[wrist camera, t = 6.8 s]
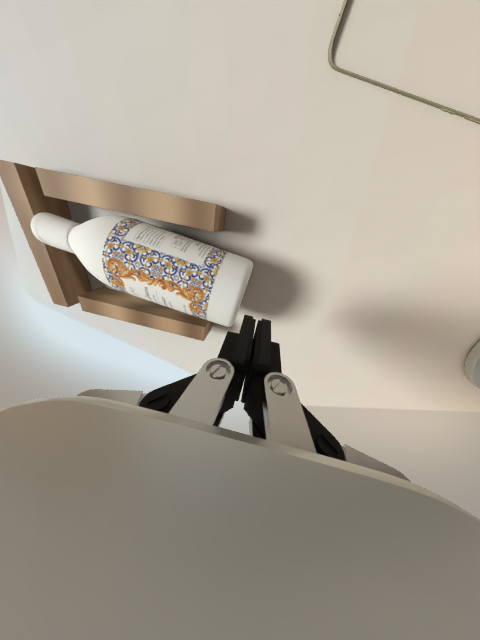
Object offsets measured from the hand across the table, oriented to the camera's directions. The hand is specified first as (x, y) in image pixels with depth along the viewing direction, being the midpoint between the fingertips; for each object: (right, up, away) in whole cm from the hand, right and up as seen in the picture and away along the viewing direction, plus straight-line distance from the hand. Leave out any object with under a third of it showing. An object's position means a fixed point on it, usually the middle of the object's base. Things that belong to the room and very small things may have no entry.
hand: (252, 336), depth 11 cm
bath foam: (0, +3, +6) cm, 7 cm away
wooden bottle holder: (-13, +8, +10) cm, 18 cm away
